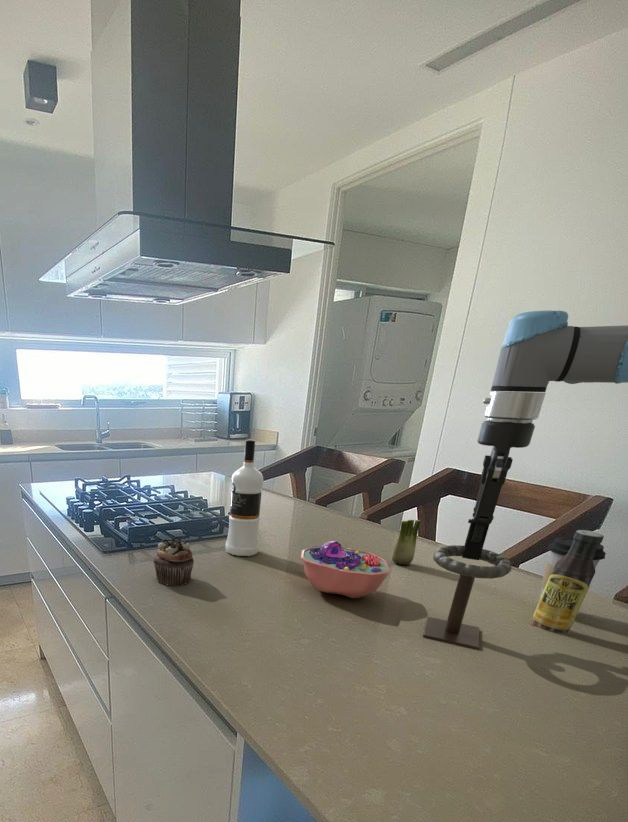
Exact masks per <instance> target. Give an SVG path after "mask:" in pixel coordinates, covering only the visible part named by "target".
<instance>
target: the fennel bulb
mask: <svg viewBox="0 0 628 822" xmlns="http://www.w3.org/2000/svg"><path fill="white" fill-rule="evenodd" d="M421 521H422V520H420V519H407V520H401V522H400V529H399V533H398V538H397V540H396V542H395V545H394V549H393V552H392V557H391V561H392V562H393V563H394V564H396V565H403V566H405V565H406V566H407V565H410V564H411V563H412V562H413V560H414V557H415V550H416V546H417V544H416V543H417V537H418V533H419V528H420V525H421Z"/></svg>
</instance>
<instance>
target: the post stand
mask: <svg viewBox="0 0 628 822" xmlns="http://www.w3.org/2000/svg"><path fill="white" fill-rule="evenodd" d="M475 579H476V578H475V577H469V576H464V575H460V574H459V575H458V580H457V584H456V587H455V591H454V594H453V597H452V602H451V605H450V609H449V612H448V615H447V620H446V619H441V618H437V617H433V616H432V617H431V616H427V617H426V620H425V625H424V629H423V635H422V638H423V639H429V640H432V641H437V642H441V643H446V644H449V645H454V646H458V647H463V648H468V649H472V650H476V651H479V650H480V627H479V626H475V625H470V624H466V623H463V621H464V618H465V617H464V616H465V613H466V610H467V606H468V604H469V599H470V596H471V594H472V589H473V586H474V582H475Z"/></svg>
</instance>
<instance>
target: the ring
mask: <svg viewBox="0 0 628 822" xmlns="http://www.w3.org/2000/svg"><path fill="white" fill-rule="evenodd" d="M464 548H465V546H464V545H459V544H451V545H443V546H440V547H439V548H437V549H435V550H434V552H433V556H432V559H433V561H434V562H435V563H436V565H438V567H440V568H443V569H444V570H446V571H448V572H449V573H450V572H451V573H453V574H456V575H459V576H460V575H464V576H469V577H475V579H489V580H491V579H498V578H499V579H500V578H503V577H505V576H506V575H509V574H510V573H511V571H512V563H511V561H510V560H509V559H508V558H507V557H505V556H504V555H502V554H500V553H497V552H495V551H492V550H489V549H486V548H483V549H482V552H481V556H480V559H479V560H478V561H482V562H486V563H488V564H491V565H492V566H485V565H476V564H470V563H465V562H461V561H458V560H455V559H453V558H451V557H462V556H463V552H464Z"/></svg>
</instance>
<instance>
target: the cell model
mask: <svg viewBox="0 0 628 822" xmlns="http://www.w3.org/2000/svg"><path fill="white" fill-rule="evenodd" d="M300 559H301V561H302V563H303V564H302V565H303V571H304V574H305V577H306V579H307V580H308V582H309V583H310V585H311V586H312V587H313V588H314V589H315V590H317V591H320V592H324V593H326V594H334V595H335V594H336V595H341V596H345V597H346V598H350V599H359V598H363V597H365V596H367V595H370V594H372V593H374V592H376V591H377V590H378V589H379V588H380V587H381V585H383V583H384V582H385V580H386V579H387V577H388V576H389V575H390V573H391V571H392V570H391V568H390V565H389V564H388V563H387V561H386V560H385V559H384V558H382V557H380V556H378V555H377V554H374V553H372V552H369V551H365V550H360V549H355V548H349V547H343V546H342V544H341V543H340V542H339V541H336V540H331V541H328V542H324V544H323V545H314V546H311V547H308V548H305V549H303V550H301V554H300Z"/></svg>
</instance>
